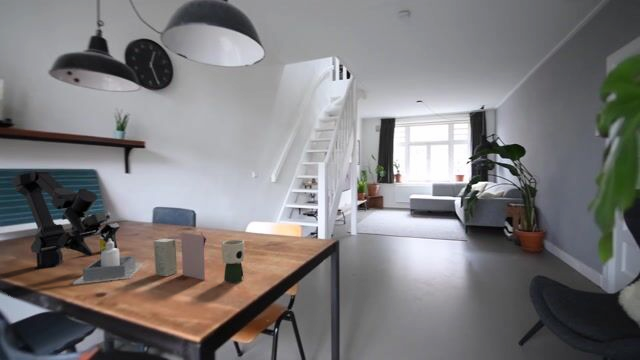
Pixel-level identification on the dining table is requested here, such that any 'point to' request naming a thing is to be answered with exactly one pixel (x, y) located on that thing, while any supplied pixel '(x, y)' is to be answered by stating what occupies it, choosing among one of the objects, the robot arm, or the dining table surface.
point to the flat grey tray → (109, 271)
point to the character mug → (233, 259)
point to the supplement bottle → (102, 244)
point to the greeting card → (193, 255)
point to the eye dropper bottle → (110, 255)
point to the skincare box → (165, 257)
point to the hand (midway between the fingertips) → (104, 251)
